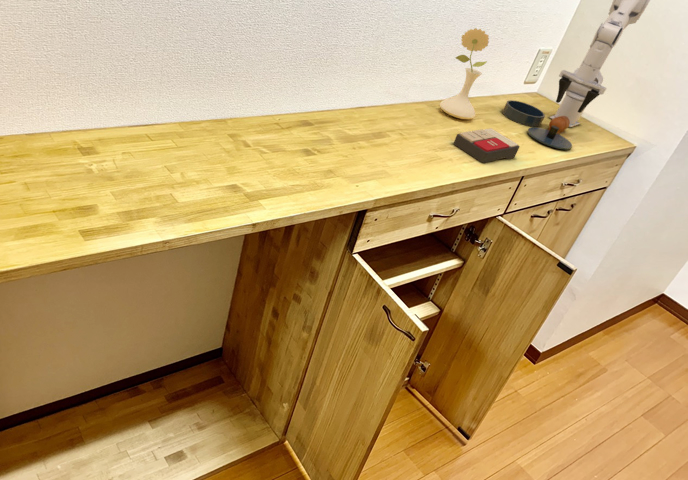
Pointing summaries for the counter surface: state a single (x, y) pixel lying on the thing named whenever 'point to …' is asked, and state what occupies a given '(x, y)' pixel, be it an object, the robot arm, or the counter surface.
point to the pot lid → (550, 137)
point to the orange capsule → (560, 123)
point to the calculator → (486, 145)
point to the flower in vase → (460, 102)
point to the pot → (523, 113)
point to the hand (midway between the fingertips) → (568, 107)
